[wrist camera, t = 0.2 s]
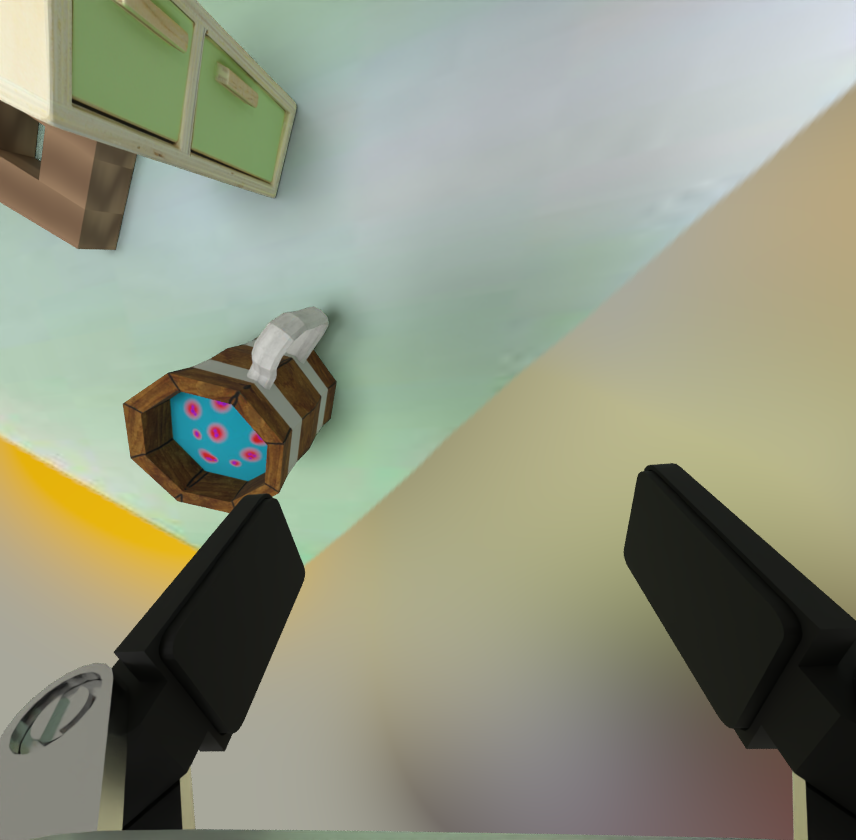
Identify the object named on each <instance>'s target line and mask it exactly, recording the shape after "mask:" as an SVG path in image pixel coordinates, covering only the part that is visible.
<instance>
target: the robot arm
mask: <svg viewBox="0 0 856 840" xmlns="http://www.w3.org/2000/svg"><path fill="white" fill-rule="evenodd" d="M624 557H625V561H626V564H627V566H628V568H629V569H630V571H631V573H632V574H633V576H634V577H635V579H636V581H637V582H638V584H639V586H640V587H641V589H642V591H643V592H644V594H645V596H646V597H647V599H648V601H649V602H650V604H651V606H652V607H653V609H654V611H655V612H656V614H657V616H658V617H659V619H660V621H661V622H662V624H663V626H664V627H665V629H666V631H667V632H668V634H669V636H670V637H671V639H672V640H673V642H674V644H675V646H676V647H677V649H678V651H679V652H680V654H681V656H682V657H683V659H684V660H685V662H686V664H687V665H688V667H689V669H690V671H691V672H692V674H693V675H694V677H695V679H696V680H697V682H698V684H699V685H700V687H701V689H702V690H703V692H704V694H705V695H706V697H707V699H708V700H709V702H710V703H711V705H712V707H713V709H714V710H715V712H716V714H717V715H718V717H719V718H720V719H721V721H722V722H723V723H724V724H725V725H726V726H728V727H729V728H734V730H735V731H736V733H737V735H738V736H739V738H740V739H741V741H742V743H743V744H744V746H745V748H746V749H778V750H779V752H780V753H781V755H782V756H783V757H784V759H785V760H786V762H787V763H788V765H789V766H790V768H791V769H792V778H793V824H794V826H793V827H794V840H856V620H854V619H853V618H852V617H851V616H850V615H849V614H847V613H846V612H845V611H844V610H843V609H842V608H841V607H840V606H839V605H837V604H836V603H835V602H834V601H833V600H832V599H830V598H829V597H828V596H827V595H826V594H825V593H824V592H823V591H821V590H820V589H819V588H818V587H817V586H816V585H815V584H813V583H812V582H811V581H810V580H809V579H808V578H806V577H805V576H804V575H803V574H802V573H801V572H800V571H798V570H797V569H796V568H795V567H794V566H793V565H792V564H791V563H789V562H788V561H787V560H786V559H785V558H784V557H783V556H781V555H780V554H779V553H778V552H777V551H776V550H775V549H773V548H772V547H771V546H770V545H769V544H768V543H767V542H765V541H764V540H763V539H762V538H761V537H760V536H759V535H757V534H756V533H755V532H754V531H753V530H752V529H751V528H749V527H748V526H747V525H746V524H745V523H744V522H743V521H742V520H740V519H739V518H738V517H737V516H736V515H735V514H734V513H732V512H731V511H730V510H729V509H728V508H727V507H726V506H724V505H723V504H722V503H721V502H720V501H719V500H717V499H716V498H715V497H714V496H713V495H712V494H711V493H710V492H708V491H707V490H706V489H705V488H704V487H703V486H701V485H700V484H699V483H698V482H697V481H696V480H695V479H693V478H692V477H691V476H690V475H689V474H688V473H687V472H686V471H684V470H683V469H682V468H681V467H680V466H678V465H677V464H673V463H671V464H658V465H648V466H647V467H646V468H645V469H644V471H643V472H640V473H639V474H638V477H637V482H636V487H635V492H634V498H633V503H632V509H631V514H630V520H629V525H628V531H627V535H626V541H625V547H624ZM304 577H305V568H304V565H303V563H302V560H301V558H300V555H299V553H298V550H297V547H296V545H295V542H294V540H293V537H292V535H291V532H290V530H289V527H288V524H287V522H286V519H285V517H284V514H283V512H282V509H281V507H280V504H279V502H278V500H277V499H275V498H272V496H271V495H270V494H267V493H265V494H252V495H246V496H244V497H243V498H242V499H241V500H240V501H239V502H238V504H237V505H236V506H235V507H234V508H233V510H232V511H231V512H230V513H229V514H228V516H227V517H226V518H225V519H224V520H223V522H222V523H221V524H220V525H219V526H218V528H217V529H216V530H215V531H214V532H213V534H212V535H211V536H210V537H209V538H208V540H207V541H206V542H205V543H204V544H203V546H202V547H201V548H200V549H199V550H198V552H197V553H196V554H195V555H194V556H193V558H192V559H191V560H190V561H189V562H188V564H187V565H186V566H185V567H184V568H183V570H182V571H181V572H180V573H179V574H178V576H177V577H176V578H175V579H174V580H173V582H172V583H171V584H170V585H169V586H168V588H167V589H166V590H165V591H164V592H163V594H162V595H161V596H160V597H159V598H158V600H157V601H156V602H155V603H154V604H153V606H152V607H151V608H150V609H149V610H148V612H147V613H146V614H145V615H144V617H143V618H142V619H141V620H140V621H139V622H138V624H137V625H136V626H135V627H134V628H133V630H132V631H131V632H130V633H129V635H128V636H127V637H126V638H125V639H124V640H123V642H122V643H121V644H120V645H119V647H118V648H117V649H116V650H115V651H114V653H115V655H116V656H117V657H118V658H119V660H118V661H117V663H116V664H115V665H114V666H113V668H110V667H109V666H108V665H107V664H103V663H93V664H90V665H86V666H82V667H80V668H78V669H76V670H74V671H71V672H69V673H67V674H65V675H64V676H62V677H61V678H59V679H58V680H56V681H54V682H53V683H51V684H50V685H48V686H47V687H46V688H45V689H44V690H42V691H41V692H40V693H39V694H37V695H36V696H35V697H34V698H32V700H30V701H29V702H28V704H27V705H26V706H24V707H23V709H22V710H21V711H20V712H19V713H18V714H17V715H16V716H15V717H14V719H13V720H12V721H11V723H10V724H9V725H8V727H7V728H6V729H5V731H4V733H3V734H2V736H1V738H0V840H770V839H749V838H748V839H747V838H705V837H660V836H659V837H657V836H614V835H568V834H512V833H506V834H505V833H452V832H388V831H387V832H386V831H310V830H304V831H303V830H211V829H209V830H207V829H203V830H202V829H196V828H195V816H194V803H193V790H192V778H191V764H192V762H193V760H194V758H195V756H196V754H197V752H198V750H200V751H225V750H226V747H227V745H228V743H229V740H230V738H231V736H232V734H233V733H235V732H236V731H238V730H239V728H240V727H241V725H242V723H243V721H244V719H245V717H246V715H247V712H248V710H249V708H250V705H251V703H252V701H253V698H254V696H255V693H256V691H257V689H258V687H259V684H260V682H261V679H262V677H263V675H264V673H265V670H266V668H267V666H268V663H269V661H270V659H271V656H272V654H273V652H274V649H275V647H276V645H277V642H278V640H279V638H280V635H281V633H282V631H283V628H284V626H285V624H286V621H287V619H288V617H289V614H290V612H291V610H292V607H293V605H294V603H295V600H296V598H297V596H298V593H299V591H300V588H301V586H302V584H303V581H304ZM771 840H772V839H771Z"/></svg>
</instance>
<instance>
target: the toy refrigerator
mask: <svg viewBox="0 0 856 840" xmlns="http://www.w3.org/2000/svg"><path fill="white" fill-rule="evenodd" d="M0 100H1V101H3V102H5V103H7V104H9V105H11V106H13V107H15V108H17V109H19V110H21V111H23V112H25V113H27V114H29V115H31V116H33V117H34V118H36V119H39V120H41V121H43V122H45V123H47V124H49V125H51V126H54V127H57V128H59V129H62V130H65V131H68V132H71V133H74V134H77V135H80V136H83V137H86V138H89V139H92V140H95V141H98V142H101V143H104V144H107V145H110V146H113V147H116V148H119V149H122V150H126V151H129V152H132V153H135V154H138V155H141V156H144V157H147V158H150V159H153V160H156V161H159V162H163V163H166V164H169V165H172V166H175V167H178V168H181V169H184V170H187V171H190V172H193V173H196V174H199V175H202V176H205V177H208V178H212V179H215V180H218V181H221V182H224V183H227V184H230V185H233V186H236V187H239V188H242V189H245V190H248V191H252V192H255V193H258V194H261V195H264V196H267V197H271V198H275V196H276V193H277V189H278V185H279V181H280V176H281V172H282V168H283V164H284V159H285V155H286V151H287V147H288V142H289V138H290V134H291V130H292V125H293V121H294V117H295V113H296V108H297V107H296V103H295V102H294V101H293V99H292V98H291V97H290V96H289V95H288V94H287V93H286V92H285V91H284V90H283V89H282V88H281V87H280V86H279V85H278V84H277V83H276V82H275V81H274V80H273V79H272V78H271V77H270V76H269V75H268V74H267V73H266V72H265V71H264V70H263V69H262V68H261V67H260V66H259V65H258V64H257V63H256V62H255V61H254V60H253V59H252V58H251V57H250V55H249V54H248V53H247V52H246V51H245V50H244V49H243V48H242V47H241V46H240V45H239V44H238V43H237V42H236V41H235V40H234V39H233V38H232V37H231V36H230V35H229V34H228V33H227V32H226V31H225V30H224V29H223V28H222V27H221V26H220V25H219V24H218V23H217V22H216V21H215V20H214V18H213V17H212V16H211V15H210V14H209V13H208V12H207V11H206V10H205V9H204V8H203V7H202V6H201V5H200V4H199V3H198V2H197V1H196V0H0Z"/></svg>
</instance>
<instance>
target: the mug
mask: <svg viewBox="0 0 856 840" xmlns="http://www.w3.org/2000/svg"><path fill="white" fill-rule="evenodd" d="M328 325H329V322H328V318H327V316H326V315H325V314H324V312H323V311H322V310H320V309H318V308H316V307H314V306H313V307H309V308H305V309H301V310H299V311H293V312H287V313H283V314H281V315H280V316H278V317H277V318H275V319H274V320H272V321H271V322H269V323H268V324H267V326H266V327H265V329H264V330H263V331H262V333H261V334H260V335H259V336H258V337H257V338H255V339H254V340H252V341H251V342H248V343H246V344H244V345H239V346H235V347H231V348H227V349H225V350H224V351H222V352H221V353H219V354H217V355H216V356H214V357H212V358H211V359H209V360H207V361H204V362H202V363H200V364H198V365H195V366H193V367H190V368H186V369H181V370H177V371H173V372H169V373H167V374H166V375H164V376H163V377H161V378H160V379H158V380H157V381H155V382H154V383H152V384H151V385H150V386H148V387H147V388H145V389H144V390H142V391H141V392H139V393H138V394H136V395H135V396H133V397H132V398H131V399H129V400H128V401H126V402H125V403H123V408H124V415H125V422H126V429H127V436H128V443H129V450H130V457H131V459H132V460H133V461H134V462H136V463H137V464H138V465H139V466H140V467H141V468H142V469H143V470H144V471H145V472H146V473H148V474H149V475H150V476H151V477H152V478H153V479H154V480H155V481H156V482H157V483H158V484H160V485H161V486H162V487H163V488H164V489H165V490H166V491H167V492H168V493H169V494H170V495H172V496H173V497H174V498H175V499H176V500H177V501H179V502H184V503H188V504H192V505H197V506H201V507H206V508H210V509H214V510H219V511H223V512H227V513H230V512H231V511H232V510H233V508H234V507H235V506H236V505H237V504H238V502H239V501H240V500H241V499H242V498H243V497H244V496H246V495H252V494H265V493H267V494H270V495H271V496H274V495H276V494H278V493H279V492H280V490H281V488H282V486H283V484H284V482H285V479H286V477H287V475H288V474H289V472H290V471H291V469H292V468H293V467H294V465H295V464H296V462H297V461H298V460H299V459H300V458H301V457H302V456H303V455H304V454H305V453H306V452H307V451H308V450H309V448H310V446H311V444H312V442H313V440H314V438H315V436H316V434H317V433H318V432H319V430H320V429H321V427H322V426H323V425H324V424H325V423H326V422H328V421H329V420H330V419H331V413H332V406H333V400H334V394H335V388H336V381H335V379H334V378H333V376H332V375H331V374H330V372H329V371H328V369H327V368H326V366H325V365H324V364H323V362H322V361H321V359H320V358H319V357H318V355H317V354H316V352H315V351H314V350H313V349H314V348H315V346H316V345H317V343H318V342H319V340H320V339H321V337H322V336H323V335H324V333H325V331H326V329H327V327H328Z"/></svg>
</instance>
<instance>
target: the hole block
mask: <svg viewBox="0 0 856 840" xmlns="http://www.w3.org/2000/svg"><path fill="white" fill-rule="evenodd" d="M39 123H41V124H43V125H44V126H45V134H44V142H43V151H42V159H41V162H40V161H39V160H37V159H36V158H35V150H36V141H37V132H38V124H39ZM136 156H137V154H135V153H132V152H129V151H126V150H122V149H119V148H116V147H113V146H110V145H107V144H104V143H101V142H98V141H95V140H92V139H89V138H86V137H83V136H80V135H77V134H74V133H71V132H68V131H65V130H62V129H59V128H57V127H54V126H51V125H49V124H47V123H45V122H43V121H41V120H39V119H36V118H34V117H33V116H31V115H29V114H27V113H25V112H23V111H21V110H19V109H17V108H15V107H13V106H11V105H9V104H7V103H5V102H3V101H1V100H0V202H1V203H2V204H4V205H6V206H7V207H9V208H11V209H12V210H14V211H16V212H17V213H19V214H21V215H22V216H24V217H26V218H27V219H29V220H31V221H32V222H34V223H36V224H37V225H39V226H41V227H42V228H44V229H46V230H47V231H49V232H51V233H52V234H54V235H56V236H57V237H59V238H61V239H62V240H64V241H66V242H67V243H69V244H71V245H72V246H74V247H76V248H77V249H104V250H115V249H116V245H117V240H118V236H119V231H120V227H121V223H122V218H123V214H124V209H125V205H126V200H127V196H128V191H129V187H130V182H131V178H132V174H133V169H134V165H135V160H136Z"/></svg>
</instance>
